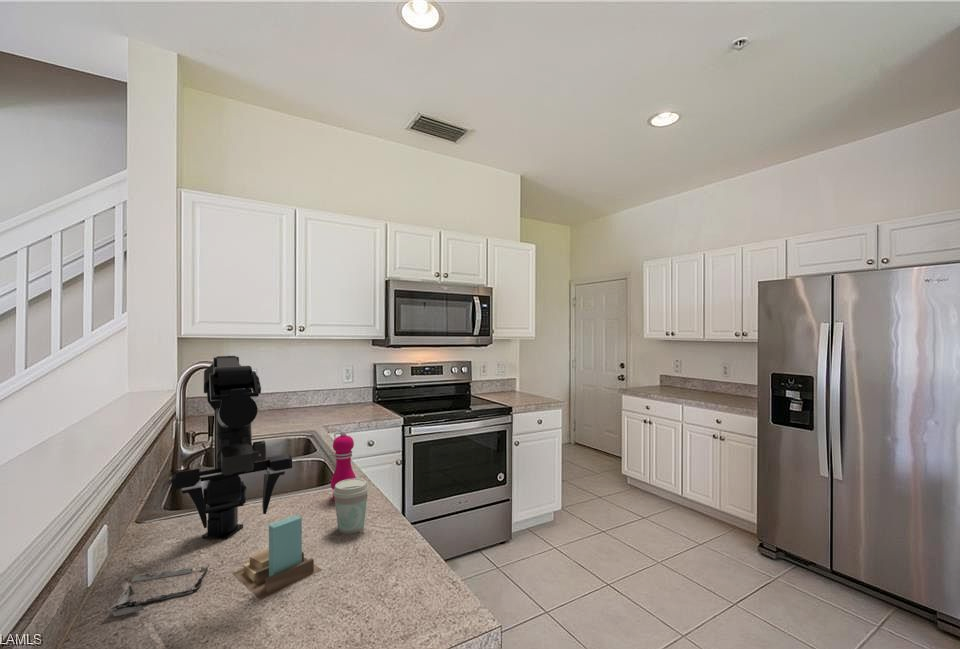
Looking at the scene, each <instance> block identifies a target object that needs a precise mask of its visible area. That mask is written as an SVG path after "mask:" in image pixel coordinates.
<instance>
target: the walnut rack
mask: <svg viewBox="0 0 960 649" xmlns="http://www.w3.org/2000/svg"><path fill="white" fill-rule="evenodd" d="M322 571H323V569H322V568H320V567H319V566H317V564H315V559H314V558H312V557H311V558H309V559H307V558H306V557H305V553H304V551H302V563H300V564H297V565H295V566H293V567H291V568H288V569H286V570H284V571H282V572H279V573H277V574H275V575H273V576H270V577H269V566H267V567H264V568H262V569H260V570H257V571H256V581H255V582H253V581H252V580H251V579H250V578H249V577H248V576H247V575H246V574H245V573H244V568H242V569H240V570H237V571H235V572H232V575H233V576H235V578H236V579H237V580H239V582H240V583H242V584H243V585H244V586H245V587H246V588H247V589H248V590H249V591H250V592H251V593H252V594H253V595H254V596H255V597H256V598H257V599H258V600H260V601H261V600H263V599H265V598H266V597H269V596H271V595H273V594H275V593H278V592H280V591H283V589H286V588H288V587H290V586H291V585H294V584H296V583H298V582H301V581H303V580H305V579H307V578H308V577H311V576H313V575H315V574H317V573H320V572H322Z"/></svg>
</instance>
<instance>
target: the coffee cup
mask: <svg viewBox="0 0 960 649" xmlns="http://www.w3.org/2000/svg"><path fill="white" fill-rule="evenodd" d="M369 487H370V486H369V485H368V482H367V480H366V479H363V478H355V479H347V480H343V481H340V482H338V483H337V484H336V485H335V488H334V490H333V489H332V490H333V491H332V497H333V496H334V498H335V501H334V505H335V506H334V507H335V513H336V514H335V515H336V524H337V531H338V532H339V533H340V534H345V535H350V534H356V533H360V534H363V533H364V530H365V523H366V522H365V521H366V513H367V512H366V511H367V510H366V509H367V504H368V503H367V502H368V492H369V491H370V488H369Z"/></svg>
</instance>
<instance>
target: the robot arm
mask: <svg viewBox="0 0 960 649" xmlns="http://www.w3.org/2000/svg"><path fill="white" fill-rule="evenodd" d="M212 362H213V363H211V364H210V365H209V366H208V367H207V368H206V369H204V371H203V394H206V399H207V403H208V404H209V405H210V406H211V408H212V409H213V411H214V412H213V413H214V414H213V417H214V420H213V421H214V422H213V423H214V424H213V427H214V428H213V431H214V432H213V433H214V434H213V439H214V440H213V442H214V444H213V459H214V460H213V468H212V469H208V470H203V471H202V470H201V469H200V468H199V467H198V468H194V469H193V468H192V469H188V470H180V471H176V472H174V473H173V474H172V476H171V487H170V488H171V491H175V490H180V494H181V495H183V494H188V495H189V497H190V498H191V500H192V502H193V504H194V505H195V507H196V510H197V512H198V516H199V517H200V518H199V519H200V521H201V524H202V526H203V528H204V529H206V528H207V529H206V530H207V532H205V533H204V534H202V535H201V538H202V539H223V540H224V539H228V538H229V537H231V536H232V535H234V534H235V533H236V532H238V531H239V530H241V529H242V528H244V524H238V522H239V521H238V518H239V516H238V515H239V514H238V510H239V509H238V508H239V507H244V505H245V504H246V500H247V498H246V497H247V485H246V484H245V483H244V481H243V480H242V478H241V475H244V474H250V473H256V472H261V471H266V473H264V474H263V486H262V487H263V490H262V514H263V515H266V514H267V513H268V512H267V511H268V508H269V505H270V501H271V497H272V495H273V491H274V488H275V486H276V483H277V482H278V480H279V477H280V476H284V475H285V474H286V471H284V470H290V469H293V457H292V455H291V454H289V453H286V454H278V455H273V456H267V448H266V447H267V446H266V441H265V440H260V441H252V437H253V436H252V423H253V421H254V420H255V419H256V418H257V415H258V409H259V408H258V405H257V403H256V400H254V398H258V397H260V396H259V394H261V393H262V385H261V381H260V377H259V376H258V375H257V372H256V371H255V370H253V368H252V366H251V365H241V364H240V357H239V356H236V355H221V356H220V355H218V356H215V357H213V361H212ZM200 470H201V471H200ZM202 482H206V488H205V487H204V488H203V486H202V485H200V484H202Z"/></svg>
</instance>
